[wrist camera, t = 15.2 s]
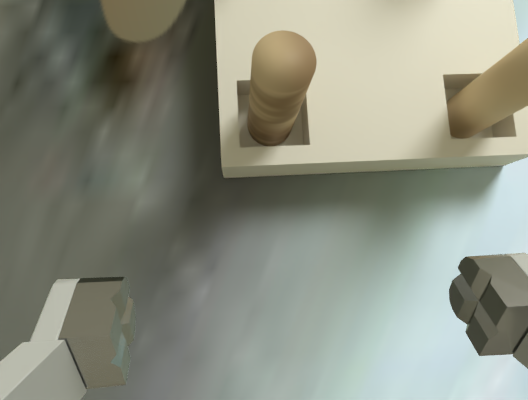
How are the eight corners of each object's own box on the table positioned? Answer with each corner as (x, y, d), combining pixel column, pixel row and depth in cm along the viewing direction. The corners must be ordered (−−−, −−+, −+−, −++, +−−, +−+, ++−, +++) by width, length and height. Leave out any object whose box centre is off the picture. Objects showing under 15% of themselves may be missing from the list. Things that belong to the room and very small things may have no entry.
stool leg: (248, 147, 34) (253, 92, 23) (246, 104, 34) (249, 31, 23) (293, 145, 34) (318, 90, 23) (290, 102, 34) (314, 29, 23)
